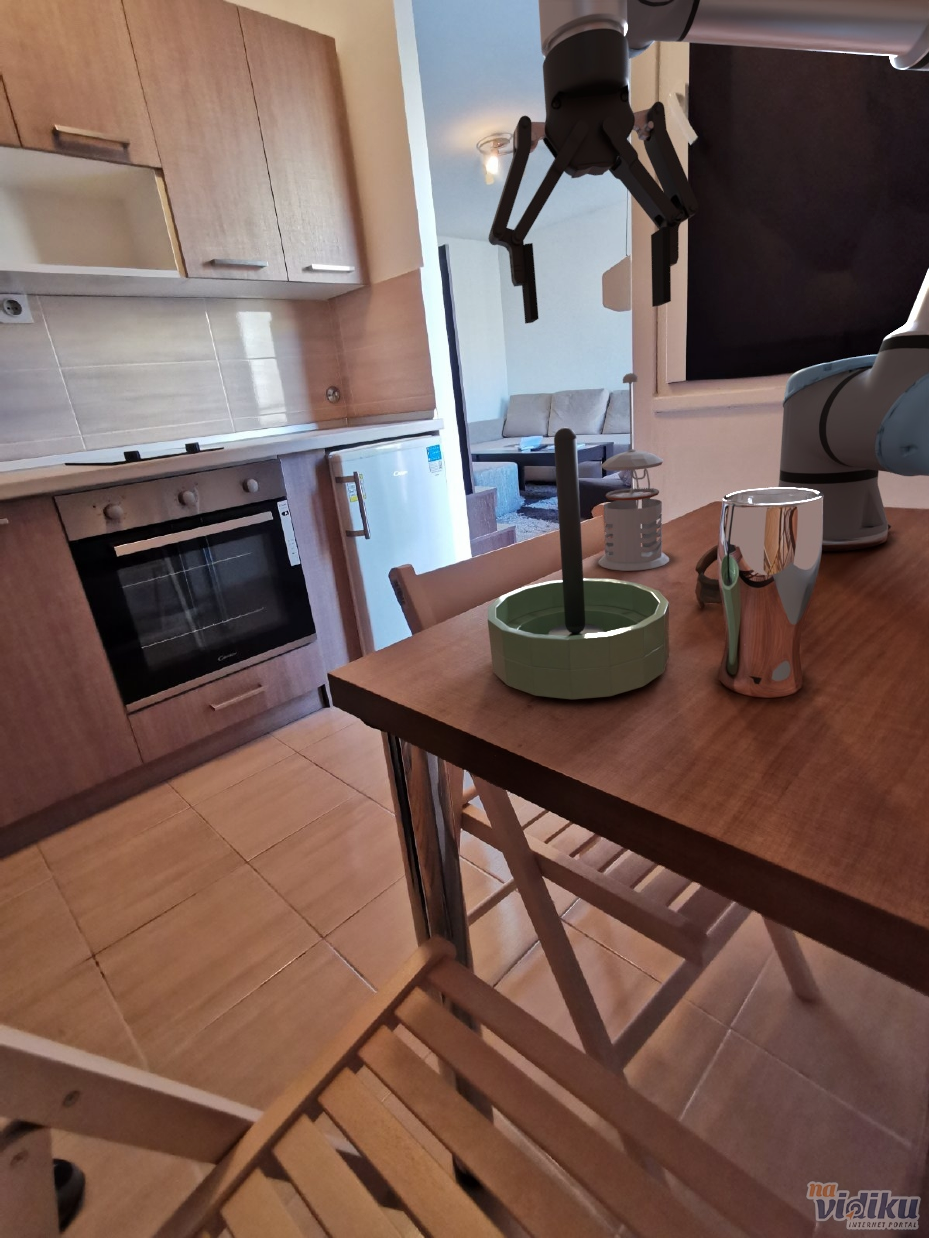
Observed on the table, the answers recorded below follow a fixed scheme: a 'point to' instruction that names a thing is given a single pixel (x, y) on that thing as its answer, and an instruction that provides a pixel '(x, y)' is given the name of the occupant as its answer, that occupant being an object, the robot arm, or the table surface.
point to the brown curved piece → (707, 580)
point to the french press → (633, 513)
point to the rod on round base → (570, 536)
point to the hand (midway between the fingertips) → (597, 313)
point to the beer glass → (767, 585)
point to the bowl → (580, 639)
